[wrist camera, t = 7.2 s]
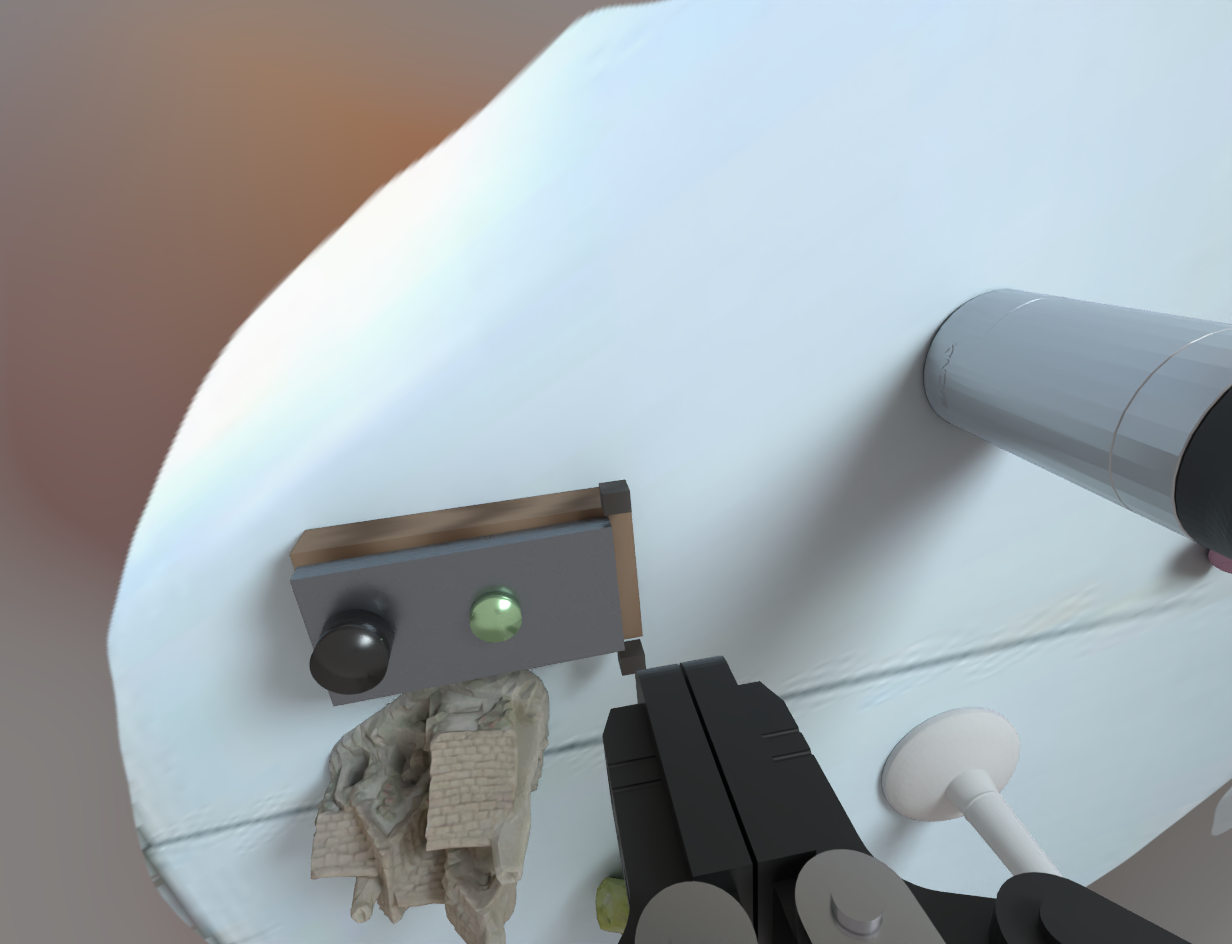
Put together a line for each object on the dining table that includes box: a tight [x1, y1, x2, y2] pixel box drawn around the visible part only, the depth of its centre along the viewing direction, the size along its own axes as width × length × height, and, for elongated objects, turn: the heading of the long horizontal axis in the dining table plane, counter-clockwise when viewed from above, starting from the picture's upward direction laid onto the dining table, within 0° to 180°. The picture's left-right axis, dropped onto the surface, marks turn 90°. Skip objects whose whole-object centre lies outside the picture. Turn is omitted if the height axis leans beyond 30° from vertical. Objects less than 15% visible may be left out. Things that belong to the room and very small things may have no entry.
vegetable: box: [596, 877, 629, 935], centre depth 52 cm, size 12×13×15 cm
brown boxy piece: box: [290, 480, 646, 676], centre depth 40 cm, size 20×13×5 cm, turn 95°
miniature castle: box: [311, 669, 549, 944], centre depth 41 cm, size 16×16×15 cm
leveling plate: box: [290, 516, 625, 706], centre depth 37 cm, size 18×9×4 cm, turn 95°
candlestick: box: [882, 707, 1063, 877], centre depth 43 cm, size 13×13×30 cm
